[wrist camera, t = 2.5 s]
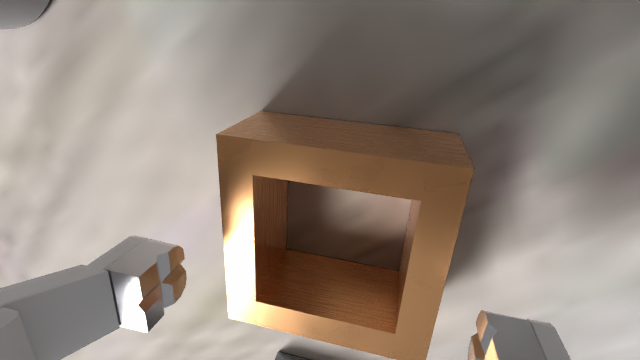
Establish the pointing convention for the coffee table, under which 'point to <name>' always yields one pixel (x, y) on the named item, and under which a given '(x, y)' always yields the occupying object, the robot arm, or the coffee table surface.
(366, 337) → the wooden square frame
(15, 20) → the lotion bottle
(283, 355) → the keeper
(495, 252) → the coffee table surface
